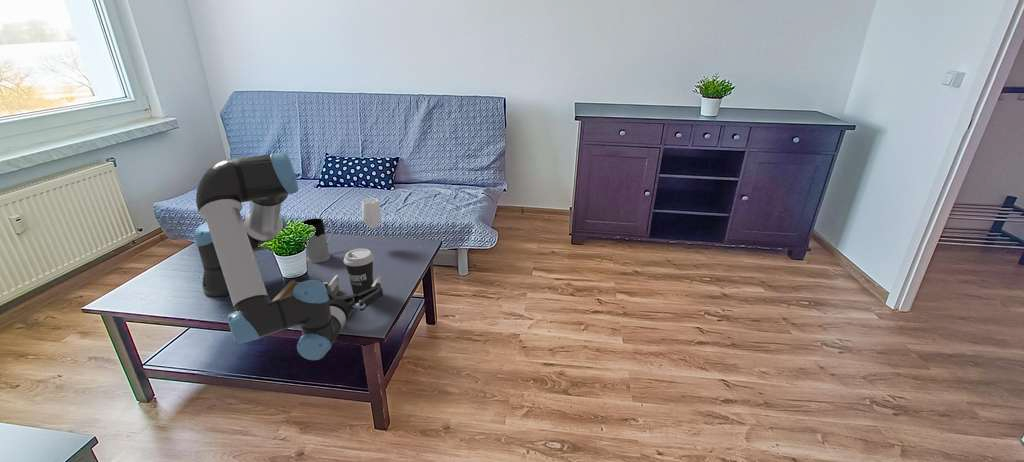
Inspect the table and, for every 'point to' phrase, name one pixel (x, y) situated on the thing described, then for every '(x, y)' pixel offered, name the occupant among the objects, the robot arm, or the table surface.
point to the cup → (371, 212)
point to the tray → (290, 288)
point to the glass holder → (318, 241)
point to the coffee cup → (360, 269)
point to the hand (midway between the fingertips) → (358, 279)
